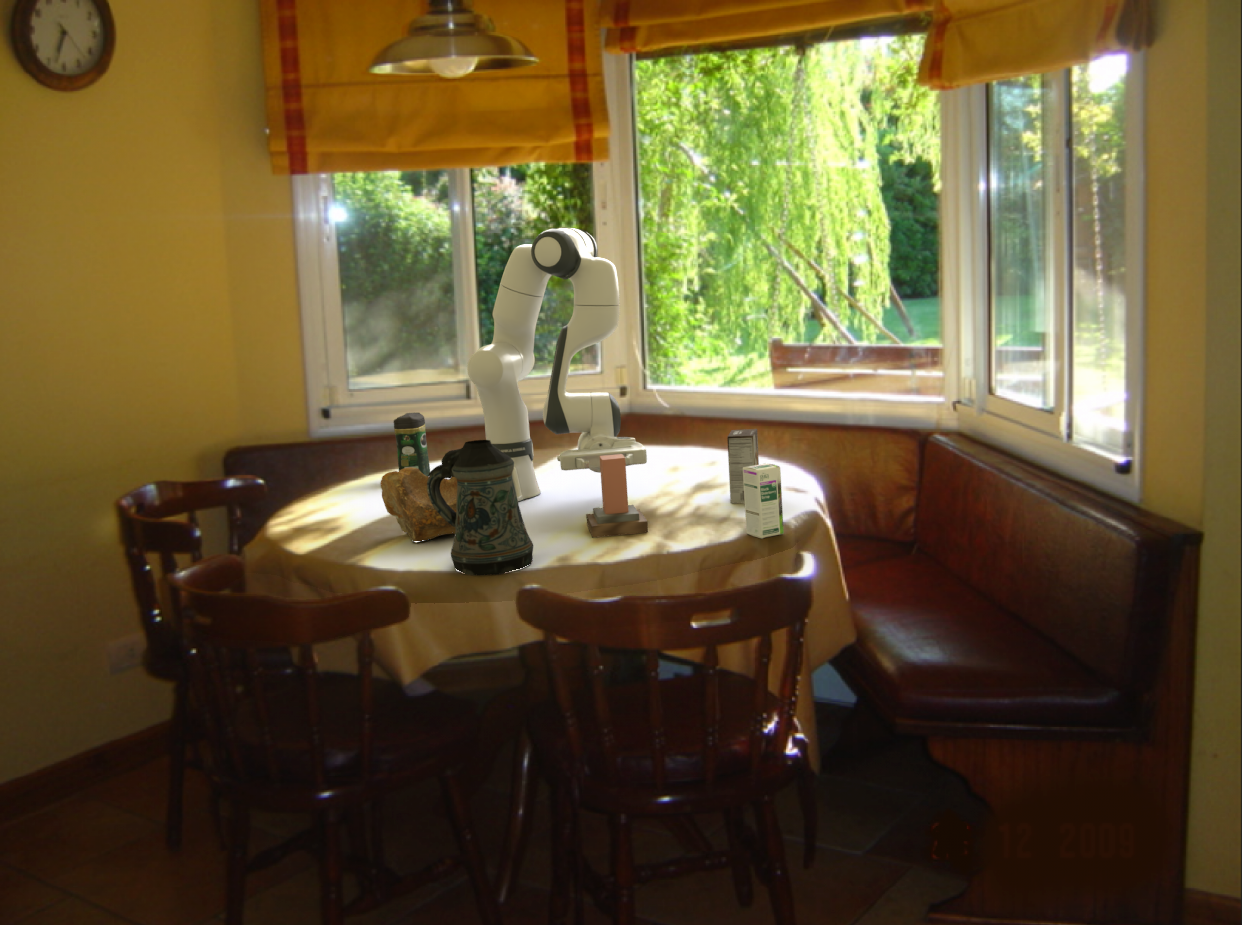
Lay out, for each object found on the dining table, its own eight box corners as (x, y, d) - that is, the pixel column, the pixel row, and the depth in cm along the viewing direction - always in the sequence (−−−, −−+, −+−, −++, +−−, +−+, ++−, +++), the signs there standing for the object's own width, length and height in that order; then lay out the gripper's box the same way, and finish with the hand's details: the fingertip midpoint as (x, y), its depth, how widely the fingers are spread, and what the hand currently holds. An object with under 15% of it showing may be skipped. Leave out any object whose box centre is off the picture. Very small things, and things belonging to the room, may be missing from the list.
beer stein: (542, 569, 232) (532, 443, 228) (443, 583, 227) (431, 454, 222) (524, 549, 248) (515, 431, 243) (431, 562, 243) (420, 441, 238)
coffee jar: (407, 475, 338) (400, 411, 335) (433, 475, 337) (427, 410, 334) (395, 483, 329) (388, 416, 325) (422, 482, 328) (416, 415, 324)
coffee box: (734, 495, 287) (731, 429, 284) (760, 494, 285) (757, 428, 282) (729, 503, 278) (726, 435, 275) (757, 503, 277) (754, 435, 274)
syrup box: (761, 539, 244) (758, 469, 242) (745, 533, 249) (742, 465, 247) (784, 534, 247) (781, 465, 244) (767, 529, 252) (765, 462, 249)
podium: (592, 537, 254) (591, 519, 253) (586, 524, 266) (585, 507, 265) (648, 532, 256) (646, 514, 255) (639, 520, 267) (638, 502, 267)
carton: (605, 514, 257) (602, 459, 255) (603, 509, 262) (599, 455, 260) (628, 512, 258) (625, 457, 256) (625, 507, 263) (622, 454, 261)
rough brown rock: (374, 552, 257) (368, 486, 253) (387, 528, 273) (382, 465, 269) (482, 549, 257) (478, 483, 253) (488, 524, 273) (485, 462, 269)
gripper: (555, 443, 282) (559, 453, 268) (640, 436, 284) (649, 446, 270) (557, 469, 283) (561, 481, 269) (642, 462, 285) (651, 473, 272)
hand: (606, 463), depth 270 cm, fingers open, 8 cm apart
